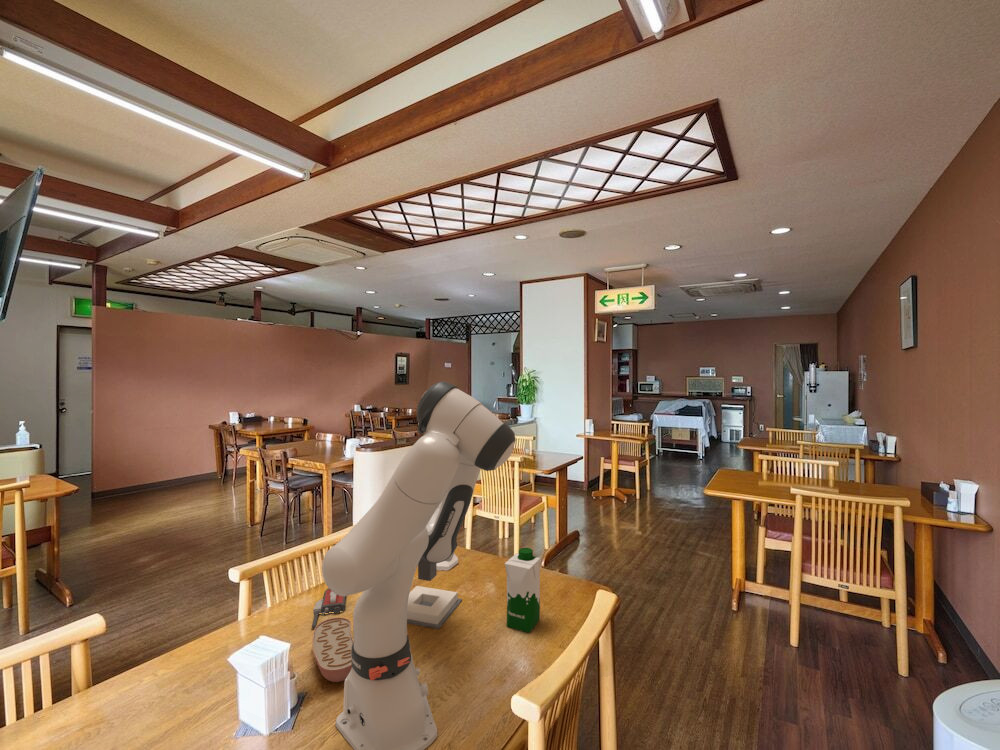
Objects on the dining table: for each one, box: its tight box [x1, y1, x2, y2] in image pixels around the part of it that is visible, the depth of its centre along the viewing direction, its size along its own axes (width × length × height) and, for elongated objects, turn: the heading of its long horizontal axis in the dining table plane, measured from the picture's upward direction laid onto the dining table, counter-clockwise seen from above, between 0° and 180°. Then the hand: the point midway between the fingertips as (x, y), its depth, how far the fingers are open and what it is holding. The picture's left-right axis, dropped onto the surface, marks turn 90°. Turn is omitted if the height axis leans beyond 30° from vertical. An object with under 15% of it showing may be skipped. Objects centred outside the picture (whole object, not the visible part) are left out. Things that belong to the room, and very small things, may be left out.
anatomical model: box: [312, 617, 353, 683], centre depth 114 cm, size 23×10×5 cm, turn 26°
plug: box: [417, 558, 438, 582], centre depth 137 cm, size 4×4×10 cm
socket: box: [407, 585, 463, 630], centre depth 137 cm, size 16×16×3 cm
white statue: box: [436, 553, 459, 572], centre depth 169 cm, size 12×15×14 cm
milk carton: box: [504, 547, 541, 634], centre depth 129 cm, size 9×9×20 cm
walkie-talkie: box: [311, 587, 347, 629], centre depth 138 cm, size 9×4×20 cm
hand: (428, 558), depth 137 cm, fingers closed on plug, 4 cm apart
